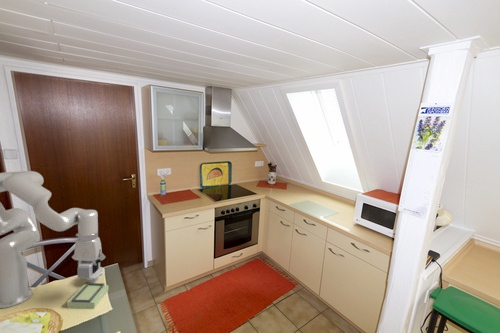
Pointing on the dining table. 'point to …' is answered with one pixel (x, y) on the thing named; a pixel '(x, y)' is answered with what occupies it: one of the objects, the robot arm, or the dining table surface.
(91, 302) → the shallow green tray
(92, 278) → the showerhead
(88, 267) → the grey small block
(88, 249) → the robot arm
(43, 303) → the dining table surface
